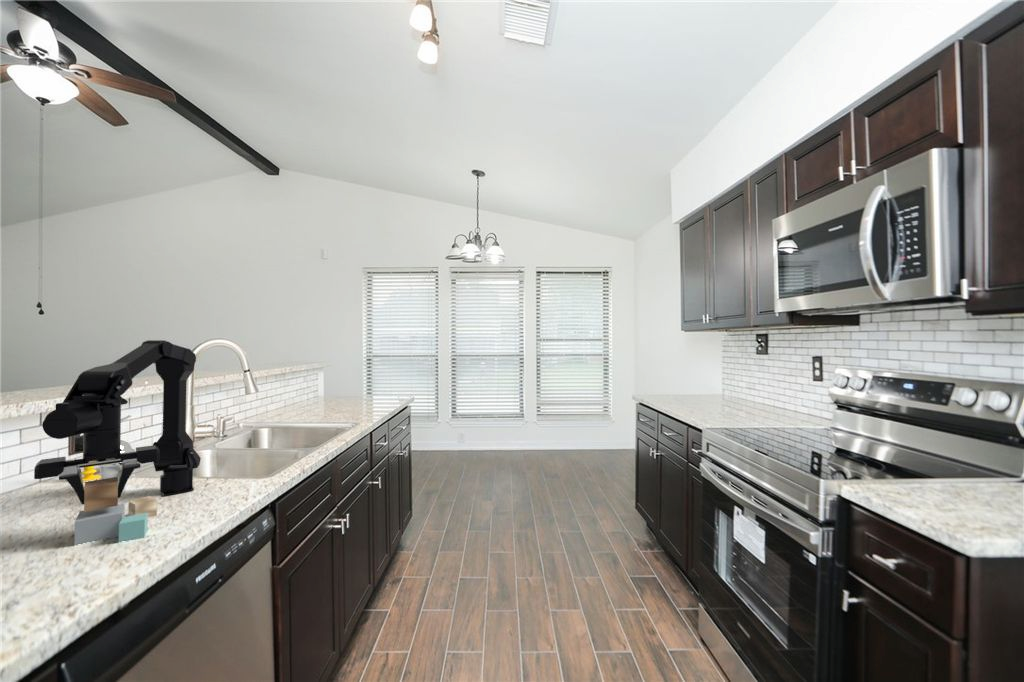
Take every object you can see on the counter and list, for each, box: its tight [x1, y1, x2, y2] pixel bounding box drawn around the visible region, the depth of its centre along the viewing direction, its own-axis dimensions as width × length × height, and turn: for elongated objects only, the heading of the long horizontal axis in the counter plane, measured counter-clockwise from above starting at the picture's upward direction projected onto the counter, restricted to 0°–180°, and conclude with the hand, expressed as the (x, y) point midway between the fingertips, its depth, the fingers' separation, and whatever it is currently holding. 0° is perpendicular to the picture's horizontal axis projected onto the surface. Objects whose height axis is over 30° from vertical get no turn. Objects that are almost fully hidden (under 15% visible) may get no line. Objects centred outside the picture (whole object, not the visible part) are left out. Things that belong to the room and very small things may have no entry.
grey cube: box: [73, 503, 125, 546], centre depth 88 cm, size 7×7×5 cm
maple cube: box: [127, 495, 158, 519], centre depth 97 cm, size 4×4×4 cm
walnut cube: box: [83, 477, 119, 512], centre depth 88 cm, size 5×5×5 cm
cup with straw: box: [98, 414, 136, 489], centre depth 115 cm, size 8×9×20 cm
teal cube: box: [118, 513, 149, 543], centre depth 88 cm, size 4×4×4 cm
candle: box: [81, 461, 101, 481], centre depth 123 cm, size 5×5×16 cm
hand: (101, 500), depth 88 cm, fingers closed on walnut cube, 5 cm apart
